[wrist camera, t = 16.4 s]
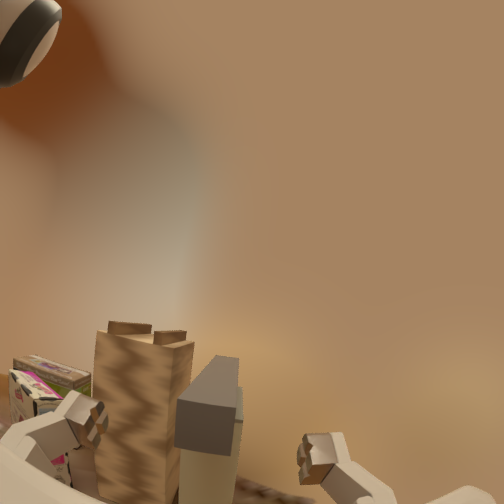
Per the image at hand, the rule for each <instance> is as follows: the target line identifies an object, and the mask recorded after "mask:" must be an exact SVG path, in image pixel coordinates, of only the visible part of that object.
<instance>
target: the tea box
mask: <svg viewBox="0 0 504 504" xmlns="http://www.w3.org/2000/svg"><path fill="white" fill-rule="evenodd" d="M13 370H22V371H30V372H33V373H34V374H36V375H37V376H38V377H39V378H40V379H41V380H42V381H43V382H44V383H45V384H47V385H48V386H49V387H50V388H51V389H53V390H54V391H55V392H56V393H57V394H59V395H60V396H61V397H62V398H65V397H66V396H67V394H68V393H69V392H70V391H72V390H74V391H76V392H79V393H81V394H84V395H86V396H89V397H91V373H90V372H87V371H83V370H80V369H76V368H73V367H70V366H67V365H64V364H61V363H58V362H55V361H52V360H49V359H46V358H43V357H40V356H38V355H32V356H24V357H17V358H14V359H13ZM80 445H81V444H79V445H78V446H76V447H75V448H76V449H77V448H78V447H79V446H80Z"/></svg>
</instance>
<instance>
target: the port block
mask: <svg viewBox="0 0 504 504" xmlns="http://www.w3.org/2000/svg"><path fill="white" fill-rule="evenodd" d="M242 426H243V392H242V387H237V406H236V415H235V424H234V432H233V440H232V448H231V456H223V455H215V454H209V453H202V452H196V451H191V450H185V449H181V453H180V474H179V504H232V501H233V494H234V487H235V480H236V472H237V465H238V457H239V450H240V441H241V435H242Z"/></svg>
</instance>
